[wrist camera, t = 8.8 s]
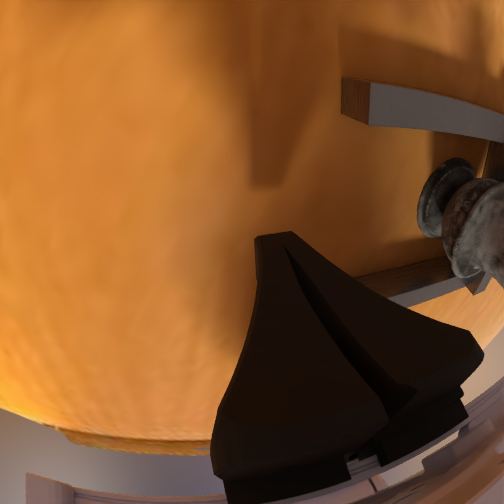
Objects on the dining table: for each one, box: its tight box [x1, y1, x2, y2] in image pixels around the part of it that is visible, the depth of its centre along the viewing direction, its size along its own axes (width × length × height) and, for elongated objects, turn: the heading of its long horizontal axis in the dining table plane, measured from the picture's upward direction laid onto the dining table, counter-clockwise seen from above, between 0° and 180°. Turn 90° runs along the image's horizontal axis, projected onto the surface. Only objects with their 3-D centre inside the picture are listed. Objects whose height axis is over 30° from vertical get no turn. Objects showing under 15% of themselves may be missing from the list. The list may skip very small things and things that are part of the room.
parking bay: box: [341, 78, 504, 308], centre depth 12 cm, size 12×12×3 cm
